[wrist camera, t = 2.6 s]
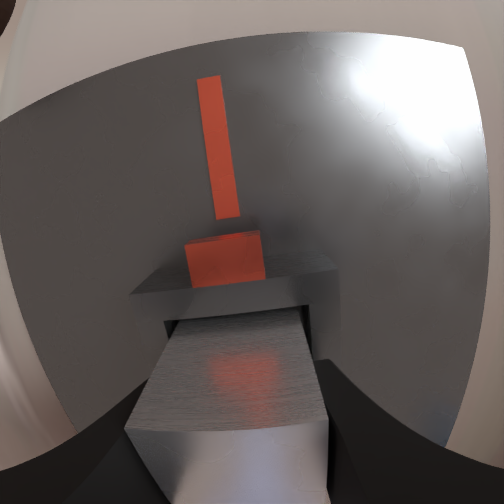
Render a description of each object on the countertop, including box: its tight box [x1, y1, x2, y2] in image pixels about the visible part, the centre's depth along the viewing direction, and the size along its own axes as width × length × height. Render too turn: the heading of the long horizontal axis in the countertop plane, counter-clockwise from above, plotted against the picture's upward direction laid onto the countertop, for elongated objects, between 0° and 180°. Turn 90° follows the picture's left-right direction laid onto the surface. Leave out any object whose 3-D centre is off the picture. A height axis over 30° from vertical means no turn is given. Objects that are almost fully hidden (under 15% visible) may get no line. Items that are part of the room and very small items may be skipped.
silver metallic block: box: [124, 306, 329, 504], centre depth 8 cm, size 4×4×6 cm
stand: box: [0, 32, 490, 447], centre depth 11 cm, size 22×22×4 cm
